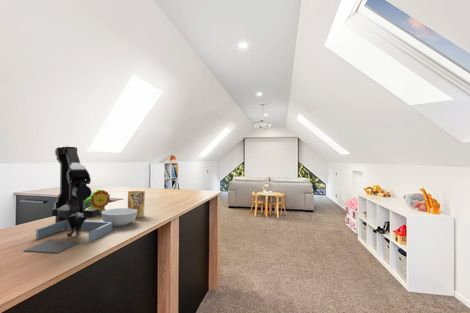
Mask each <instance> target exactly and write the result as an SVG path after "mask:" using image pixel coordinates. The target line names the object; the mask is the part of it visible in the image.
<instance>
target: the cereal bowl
mask: <svg viewBox="0 0 470 313" xmlns="http://www.w3.org/2000/svg"><path fill="white" fill-rule="evenodd" d="M136 216H137V210H135V209H128V207H125V208H124V207H121V208H120V207H119V208H110V209H109V208H108V209H106V210H104V211H102V215H101V219H102V220H101V221H102V222H113V227H125V226H127V225H128V224H130V223H132V222H134V221H135V219H136V218H137V217H136Z"/></svg>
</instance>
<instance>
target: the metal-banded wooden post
mask: <svg viewBox="0 0 470 313" xmlns="http://www.w3.org/2000/svg"><path fill="white" fill-rule="evenodd" d="M81 232H83V230H82V228H80V230H79V231H78V232H76V227H75V228H74V229H73V230H72V229H71V231H70V232H68V233H66V236H67V238H73V235H74V234H75V235H79V233H81Z"/></svg>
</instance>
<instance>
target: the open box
mask: <svg viewBox="0 0 470 313" xmlns="http://www.w3.org/2000/svg"><path fill="white" fill-rule="evenodd" d="M81 228H82V231H88V239H87V240H88V243H91V242H93V241H96V240H97V239H99V238H102V237H104V236H105V235H107V234H109V233H112V232H113V231H114V226H113V222H104V221H94V220H93V221H91V220H85V221H84V222H83V224H82V226H81ZM35 230H36V231H35V239H36V240H39V239H42V238H45V237H47V236H50V235H53V234H55V233H58V231H59V232H61V231H64V230H72V229H71V227H70V224H69V222H68V221H67V220H64V221H61V222H58V223H55V222H54V223H51V224H48V225H46V226H42V227H39V228H36V229H35Z"/></svg>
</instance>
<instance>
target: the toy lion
mask: <svg viewBox="0 0 470 313" xmlns="http://www.w3.org/2000/svg"><path fill="white" fill-rule="evenodd" d="M110 197H111V195H110V194H109V192H108V191H106V190H104V189H96V190H95V191H93V192H91V195H90V197H89V198H87V199H86V200H85V201H84V207H86V204H87V203H88V202H90V204H91V205H90V206H89V207H88V208H86V209H85V210H88V209H99V211H100V215H101V216H102V211H104V210H107V208H105V207H106V206H107V205H109V203H110V201H111V198H110ZM78 213H80V212H78Z"/></svg>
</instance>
